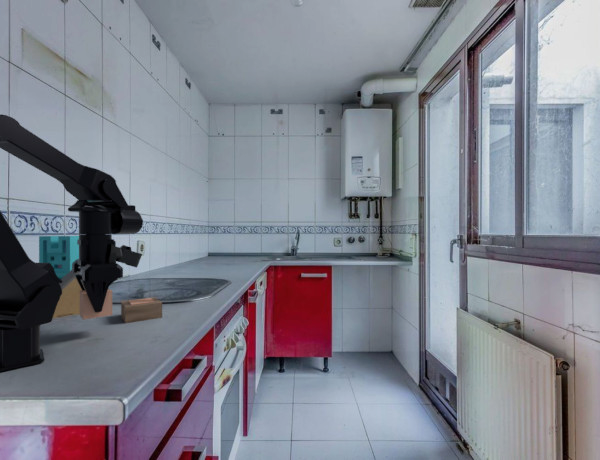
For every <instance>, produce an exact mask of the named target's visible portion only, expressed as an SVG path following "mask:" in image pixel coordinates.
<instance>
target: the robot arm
mask: <svg viewBox="0 0 600 460" xmlns="http://www.w3.org/2000/svg"><path fill="white" fill-rule="evenodd" d="M0 149H1V150H3V151H5V152H6V153H9V154H10V155H12V156H14V157H16V158H18V159H19V160H21V161H23V162H25V163H26V164H28V165H30V166H32V167H33V168H35V169H37V170H39V171H40V172H42V173H45V174H46V175H48V176H49V177H51V178H54V179H55V180H57V181H58V182H59V183H61V184H62V186H63V187H64V189H65V191H66V192H68V193H69V194H70V195H71V196H73V197H74V198H75V199H77V200H76V202H75V203H73V204H72V205H71V206H69V207H68V208H67V211H68V212H70V213H71V212H72V213H73V212H75V213H78V236H79V240H77V244H78V245H79V259H77V260H75V261H74V262H73V263H72V272H73V273H77V271H79V274H77V275H74V276H75V278H76V280H77V282H78V284H79V286H80V288H81V290H85V291H86V293H87V296H88V298H89V300H90V302H91V305H92V307H93V309H94V311H95V312H96V313H97V312H101V311H102V308H103V304H104V301H105V297H106V294H107V290H108V289H109V287H110V286H111V285H112V284H113V283H114V282H116V281H118V279H122V278H124V267H122V265H120V264H119V263H121V264H125V265H127V266H131V267H132V268H133V267H134V268H138V265H139V263H140V261H141V258H142V256H143V253H140V252H137V251H133V250H132V247H131V246H128V245H125V244H122V245H121V246H120V247H119V246H116V243H117V242H116V240H115V239H114V238H113V236H112V235H135V234H138V233H139V232H140V231H142V228H143V225H144V220H143V217H142V215H141V213H139V212H138V211H137V210H136V205H132V204H128V202H127V200H126V199H125V197H124V195H123V192H121V190H120V188H119V186H118V184H117V180H116V179H115V178H114V177H113V176H112V175H111V174H108V173H107V172H104V171H103V170H100V169H98V168H94V167H91V166H87V165H83V164H81V163H79V162H77V161H76V160H74V159H73V158H71V157H70V156H69V155H67V154H65V153H64V152H62V151H61V150H59V149H58V148H56V147H54V146H53V145H51V144H50V143H48V142H47V141H46V140H45V139H44V140H43V138H40V137H39V136H37V135H36V134H35V133H33V132H32V131H30V130H29V129H28V128H25V127H24V126H22V125H21V123H19V121H18V120H17V119H16V118H13V117H12V116H8V115H7V114H0ZM117 262H118V263H117ZM62 282H63V281H62V280H60V279H59V278H58V277H57V275H56V273H55V271H54V268H53V266H52V265H51V264H50V263H39V262H35V261H33V260H32V259H31V258H30V257H29V256H28V254H27V252H26V250H25V249H24V247H23V245H22V244H21V242H20V240H19V239H18V237H17V236H16V234H15V232H14V231H13V229H12V227H11V226H10V224H9V222H8V221H7V220H6V218H5V216H4V215H3V212H2V210H0V372H4V371H8V370H12V369H17V368H23V367H27V366H32V365H36V364H41V363H43V362H45V356H44V351H43V348H41V325H45V324H49V323H52V321H53V319H54V318H53V315H54V312H55V309H56V307H57V304H58V301H59V299H60V296H61V295H62V289H61V286H60V284H59V283H62Z"/></svg>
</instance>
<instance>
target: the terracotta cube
mask: <svg viewBox="0 0 600 460" xmlns="http://www.w3.org/2000/svg"><path fill="white" fill-rule="evenodd" d="M78 315H79V316H80V318H81V319H82V320H89V319H90V320H91V319H96V318H103V317H109V316H113V290H111V289H110V288H108V290H107V294H106V297H105V301H104V304H103V308H102V311H101V312H97V313H96V312H95V311H94V309H93V307H92V305H91V302H90V300H89V298H88V296H87V293H86V291H85V290H81V291H79V314H78Z"/></svg>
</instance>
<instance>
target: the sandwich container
mask: <svg viewBox="0 0 600 460" xmlns="http://www.w3.org/2000/svg"><path fill="white" fill-rule="evenodd" d="M77 274H79V271H77V273H73V272H72V270H71V271H70V272H69V273H68V274H67V275H65V276H64V277H63V278H62V279H61V280H62V281H63V282H62V283H59V284H60V286H61V289H62V295H61V296H60V299H59V301H58V304H57V307H56V309H55V312H54V315H53V318H52V319H58V318H65V317H71V316H77V315H79V291H81V288H80V286H79V284H78V282H77V280H76V278H75V276H74V275H77Z"/></svg>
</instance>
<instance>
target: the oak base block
mask: <svg viewBox="0 0 600 460" xmlns="http://www.w3.org/2000/svg"><path fill="white" fill-rule="evenodd" d="M120 316H121V318H122V320H123V321H124V324H130V323H136V322H142V321H148V320H157V319H163V302H162V301H161V300H159V298H157V297H155V296H154V297H146V298H137V299H129V300H122V301H120Z"/></svg>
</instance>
